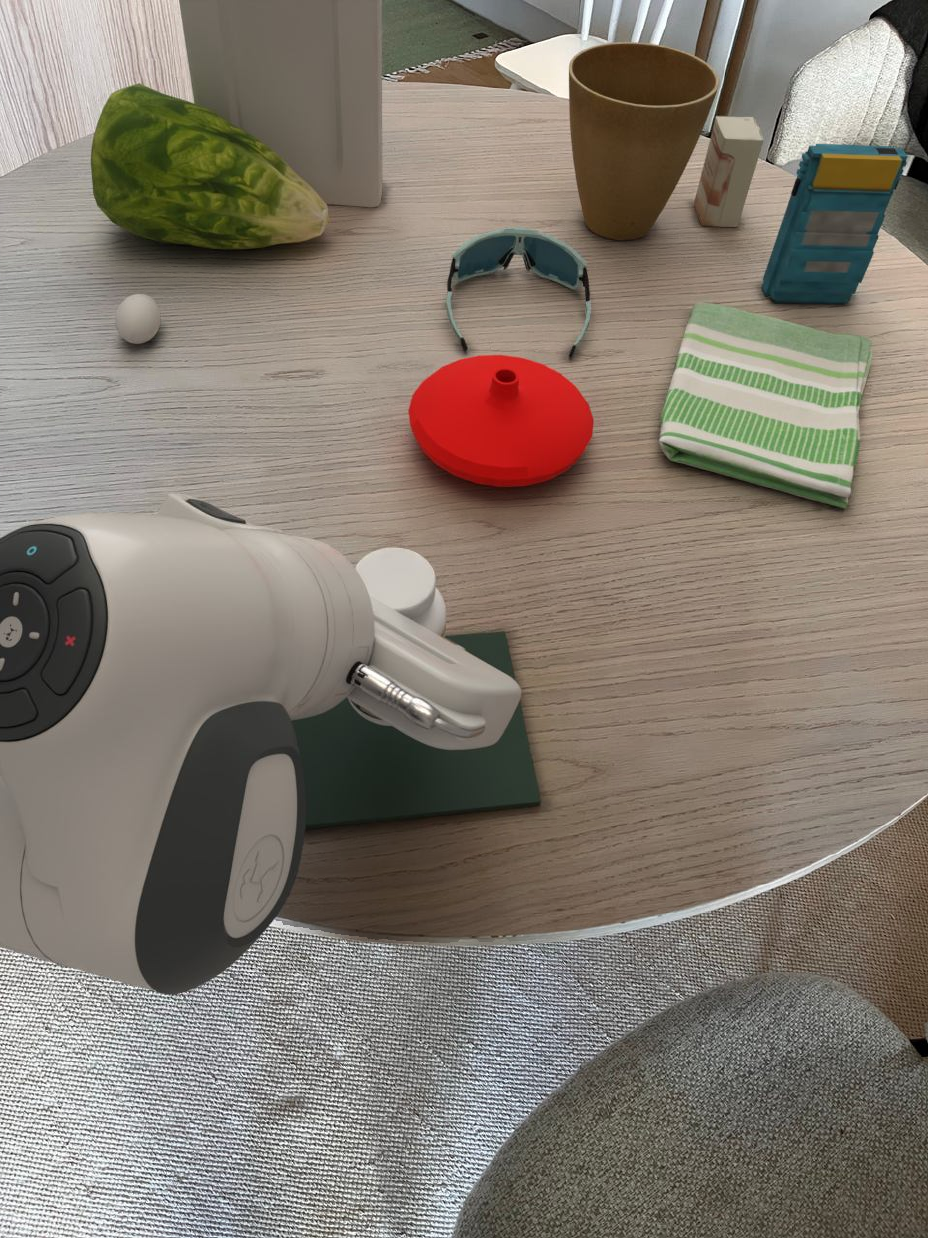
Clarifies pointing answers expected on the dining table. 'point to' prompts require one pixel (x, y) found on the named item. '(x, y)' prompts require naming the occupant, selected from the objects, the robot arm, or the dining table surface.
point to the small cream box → (728, 170)
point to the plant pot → (634, 130)
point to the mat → (411, 763)
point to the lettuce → (195, 177)
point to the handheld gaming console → (832, 222)
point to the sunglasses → (538, 255)
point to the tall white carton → (297, 84)
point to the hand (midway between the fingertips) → (398, 625)
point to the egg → (138, 318)
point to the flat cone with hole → (500, 420)
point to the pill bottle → (403, 593)
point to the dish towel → (767, 402)
